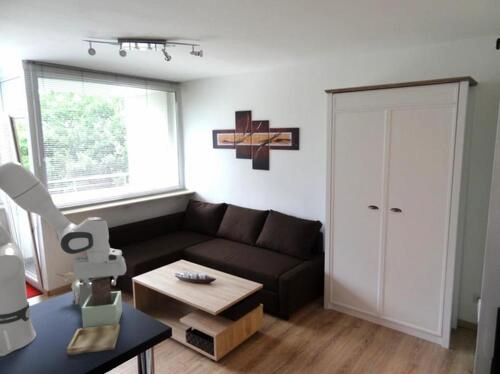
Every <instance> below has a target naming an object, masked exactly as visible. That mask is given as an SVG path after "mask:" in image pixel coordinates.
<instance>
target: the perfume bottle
mask: <svg viewBox="0 0 500 374" xmlns="http://www.w3.org/2000/svg"><path fill="white" fill-rule="evenodd" d="M92 279H94V278H89V279H88V280H89V282H91V281H92ZM80 283H81V284H79V286H80V298H81V304H80V307H81V310H82V307H83V305H84V303H85V302H86V300H87V298H88V296H89V294H92V288H88V286H87V284H86V283H85V282H84V279H81V282H80ZM80 298H79V299H80Z"/></svg>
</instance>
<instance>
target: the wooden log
mask: <svg viewBox="0 0 500 374" xmlns="http://www.w3.org/2000/svg"><path fill="white" fill-rule="evenodd" d="M110 277H111V276H107V277H97V278H94V279H92V281H91V283H92V295H93V306H100V305H111V304H112V300H111V292H112V290H111V289H112V287H111V279H110Z"/></svg>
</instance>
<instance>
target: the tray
mask: <svg viewBox="0 0 500 374" xmlns="http://www.w3.org/2000/svg"><path fill="white" fill-rule="evenodd" d="M120 332H121V324H120V323H118V324H117V325H108V326H99V327H90V328H83V327H82V328H77V329H76V331H75V333H74V335H73V336H72V339H71V340H70V342H69V344H68V346H67V349H66V353H67V356H69V355H71V356H72V355H77V354H78V355H79V354H87V353H94V352H95V353H96V352H103V351H111V350H115V349H116V344H117V342H118V337H119V334H120Z"/></svg>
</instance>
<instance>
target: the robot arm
mask: <svg viewBox="0 0 500 374" xmlns="http://www.w3.org/2000/svg"><path fill="white" fill-rule="evenodd" d="M0 190H2V191H3V192H4V193H5V194H6V195H7V196H8V197H9V198H10V199H11V200H12V201H13V202H14V203H15V204H16V205H17V206H19V207H20V208H21V209H22V210H24V211H25V212H27V213H33V214H36V215H38V216H40V217H41V218H42V219H44V221H46V223H48V225H49V226H50V227H51V228H52V229H53V230H54V232H55V233H56V238H57V240H58V242H59V245H60V248H61V249H62V251H63V252H65V253H67V254H70V255H75V254H79V253H82V252H85V251H86V255H84V256H76V257H74V258H73V259H72V265H73V273H74V278H75V279H79V280H82V279H84V282H85V283H86V284H87V286H88V288H92V283H91V282H89V280H88V279H89V278H97V277H107V276H109V277H113V279H112V280H111V281H110V286H116V284H117V279H118V277H119V276H124V275H126V273H127V265H126V259H125V258H124V256H122V255H123V252H122V250H121V249H115V248H112V247H111V246H110V243H109V240H110V235H109V228H108V223H107V221H106V220H105V219H104V218H102V217H99V216H90V217H87V218H85V219H84V220H83V221H82V222H81V223H79V224H78V223H76V222H74V221H71V220H69V218H67V217H66V216H65V215H64V214H63V212H62V211H61V209H59V208H58V207H57V206H56V205H55V203H54V201H53V199H52V196H51V194H50V192H49V190H48V189H47V187H46V186H45V185H44V183H43V182H42V181H41V180H40V179H39V178H38V177H37V176H36V175H35V174H34V173H33V172H32V171H31V170H30V169H28V167H26V166H25V165H24V164H23V163H21V162H18V161H9V162H5V163H4V164H2V165H0ZM27 293H28V292H27V286H26V268H25V259H24V255H23V253H22V250H21V249H20V246H19V245H18V244H17V242H16V241H15V239H14V238H13V237H12V235H11V234H10V233H9V231H8V230H7V229H6V228H5V227H4V225H3V223H2V222H1V221H0V357H4V356H6V355H8V354H10V353H12V352H14V351H16V350H18V349H21V348H24V347H26V346H27V345H29V344H30V343H32V342H34V340H35V339H36V337H37V333H36V331H35V328H34V327H33V324H32V323H33V322H32V320H31V308H30V302H29V301H28V294H27Z"/></svg>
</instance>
